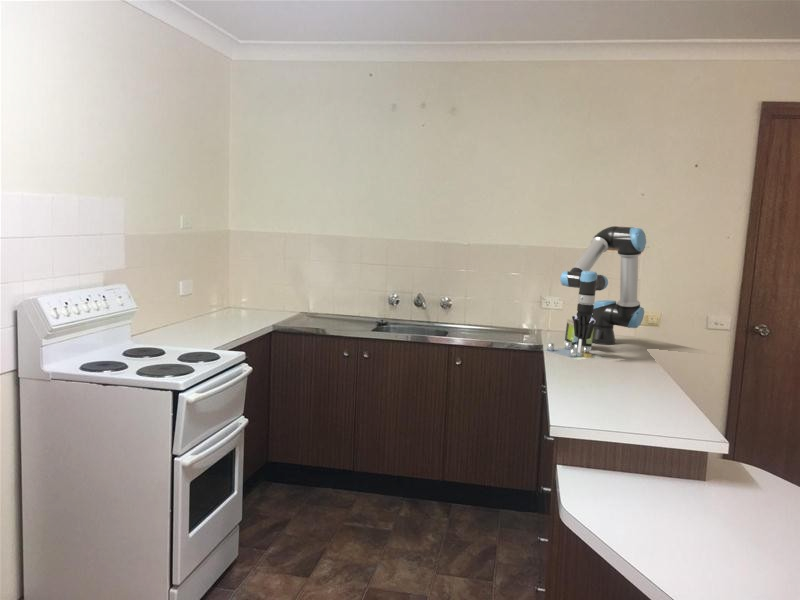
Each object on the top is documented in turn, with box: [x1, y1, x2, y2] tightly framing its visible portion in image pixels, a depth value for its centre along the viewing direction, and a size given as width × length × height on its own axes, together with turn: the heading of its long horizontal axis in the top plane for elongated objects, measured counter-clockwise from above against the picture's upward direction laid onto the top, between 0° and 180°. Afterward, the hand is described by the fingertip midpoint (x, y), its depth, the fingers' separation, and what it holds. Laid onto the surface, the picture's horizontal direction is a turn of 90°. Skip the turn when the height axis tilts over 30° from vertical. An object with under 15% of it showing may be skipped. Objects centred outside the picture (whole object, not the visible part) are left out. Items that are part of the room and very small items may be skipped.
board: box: [543, 347, 602, 361], centre depth 323 cm, size 18×22×1 cm
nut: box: [581, 352, 592, 359], centre depth 317 cm, size 4×5×2 cm
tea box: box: [564, 319, 594, 352], centre depth 340 cm, size 15×10×15 cm
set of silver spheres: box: [546, 341, 591, 358], centre depth 324 cm, size 15×17×4 cm
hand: (580, 352), depth 319 cm, fingers closed
